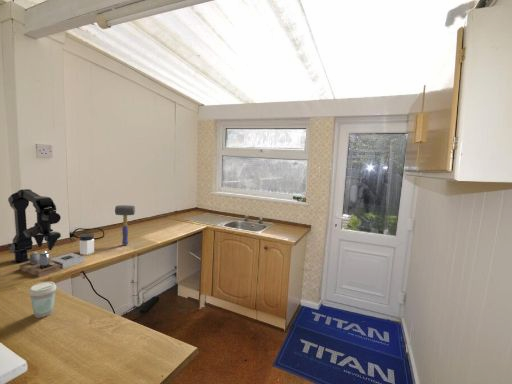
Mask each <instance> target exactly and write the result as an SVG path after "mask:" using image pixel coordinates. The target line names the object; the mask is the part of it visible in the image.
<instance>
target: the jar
mask: <svg viewBox="0 0 512 384" xmlns="http://www.w3.org/2000/svg"><path fill="white" fill-rule="evenodd" d="M78 237H79V238H78V239H79V255H80V256H83V255H84V256H85V255H86V256H89V255H91V254H93V253H94V254H95V234H94V233H83V234H80V235H78Z"/></svg>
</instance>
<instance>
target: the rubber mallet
mask: <svg viewBox="0 0 512 384" xmlns="http://www.w3.org/2000/svg"><path fill="white" fill-rule="evenodd" d="M114 213H115V215H116V216H123V217H122V219H123V221H122V225H123V226H122V232H121V233H122V234H121V235H122V246H127V245H128V244H129V238H128V237H129V236H128V235H129V227H128V216H134V215H135V213H136V207H135V205H130V204H129V205H128V204H126V205H125V204H124V205H121V204H120V205H119V204H118V205H116V206H115V208H114Z"/></svg>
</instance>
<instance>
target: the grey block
mask: <svg viewBox="0 0 512 384" xmlns="http://www.w3.org/2000/svg"><path fill="white" fill-rule="evenodd" d="M39 259H40V269H45V268H48V267H50V265H49V262H50V253H49V252H48V251H47V250H43V251H41V253H39Z"/></svg>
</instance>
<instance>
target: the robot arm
mask: <svg viewBox="0 0 512 384" xmlns="http://www.w3.org/2000/svg"><path fill="white" fill-rule="evenodd" d="M7 200H8V203H9V206H10V207H11V209H12V210H14V211H13V212H14V224H15V235H14V237H13V238H12V243H11V245H10V247H9V248H8V249H9V253H12V254H14V259H12V260H11V262H13V263H16V264H22V263H26V262H29V261H30V257H29V256H28V253H29V252H28V251H29V250H32V249H33V244H34V243H33V240H32V239H33V238H34V240H35V243H36V244H37V246H38V248H41V247H42V245H43V242H44V241H45V242H46V244H47V249H48V251H52V249H53V248H54V246H55V244H56V243H57V241H58V240H59V239H60V238H61V237H62V234H61V232H59V231H54V229H52V225H55V224H59V222H60V221H61V218H62V217H61V215H60V214H59V213H57V206H56V204H55V202H54V200H53V199H52V197H49V196H41V195H39V194H38V193H36V192H34V191H32V189H29V188H26V189H19V190H18V191H16V192H14V193H12V194H10V195H9V197H8V199H7ZM30 203H32V206H33V207H34V209H35V211H34V212H36V222H34V225H33V226H31V227H28V226H27V225H28V224H27V214H26V212H27V211H26V210H27V208H28V207H29V204H30ZM27 227H28V228H27Z"/></svg>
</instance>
